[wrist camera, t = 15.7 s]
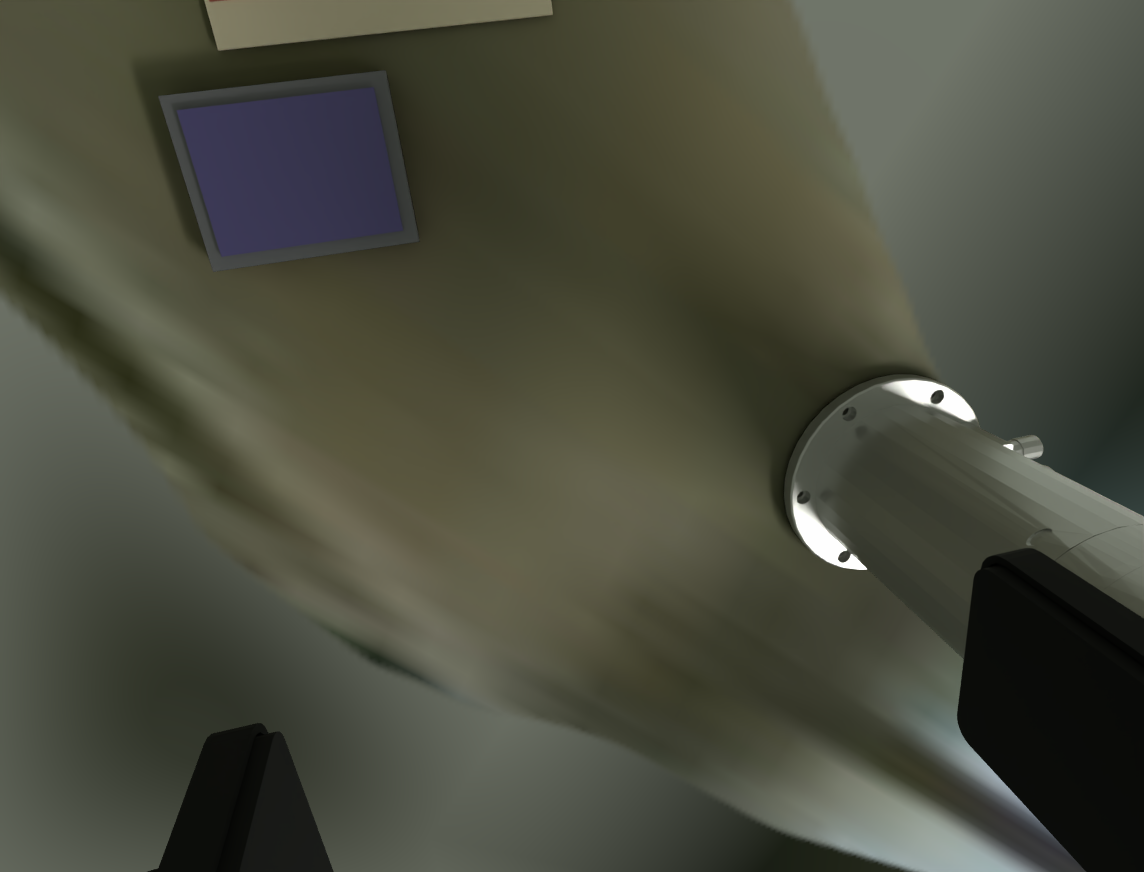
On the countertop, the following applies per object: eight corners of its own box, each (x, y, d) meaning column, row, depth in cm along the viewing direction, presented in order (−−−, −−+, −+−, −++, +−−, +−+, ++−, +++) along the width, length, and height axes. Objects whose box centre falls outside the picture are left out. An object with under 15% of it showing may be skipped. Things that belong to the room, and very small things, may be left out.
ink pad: (386, 73, 31) (385, 69, 29) (419, 238, 34) (419, 242, 32) (167, 98, 30) (155, 95, 28) (220, 267, 32) (211, 272, 31)
